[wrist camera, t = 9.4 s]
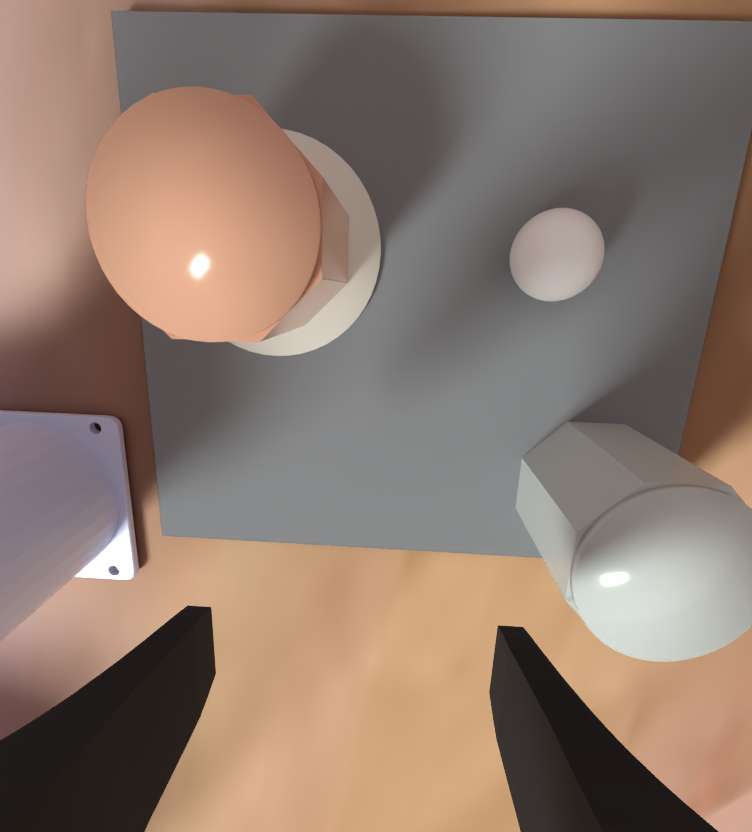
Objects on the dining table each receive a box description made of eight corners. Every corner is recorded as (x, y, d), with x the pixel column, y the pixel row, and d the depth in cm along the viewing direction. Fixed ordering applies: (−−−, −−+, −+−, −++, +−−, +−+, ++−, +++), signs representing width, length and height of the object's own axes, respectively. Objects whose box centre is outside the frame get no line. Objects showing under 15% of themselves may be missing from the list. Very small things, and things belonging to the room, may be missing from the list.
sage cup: (510, 541, 20) (561, 654, 14) (526, 419, 19) (591, 484, 12) (640, 549, 20) (751, 667, 14) (667, 426, 18) (804, 495, 12)
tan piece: (204, 321, 18) (101, 337, 12) (194, 162, 16) (69, 83, 10) (347, 326, 18) (319, 346, 11) (350, 166, 16) (319, 89, 10)
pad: (180, 350, 19) (176, 351, 18) (162, 127, 16) (158, 125, 16) (377, 359, 18) (376, 360, 18) (385, 133, 16) (385, 130, 16)
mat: (168, 529, 21) (162, 535, 21) (121, 20, 16) (110, 10, 16) (646, 556, 21) (654, 564, 20) (762, 31, 15) (776, 21, 15)
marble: (497, 299, 17) (516, 300, 15) (505, 213, 17) (528, 198, 14) (576, 302, 17) (612, 304, 14) (589, 216, 17) (629, 201, 14)
